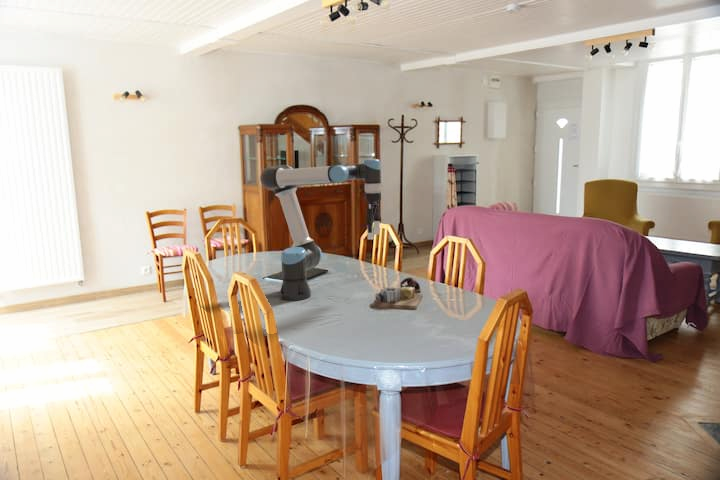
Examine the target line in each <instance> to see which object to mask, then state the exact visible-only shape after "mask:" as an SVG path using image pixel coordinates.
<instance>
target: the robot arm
mask: <svg viewBox="0 0 720 480" xmlns="http://www.w3.org/2000/svg"><path fill="white" fill-rule="evenodd" d="M381 170H382V169H381V161H380V159H378V158H367V159H364V161H363V163H342V164H337V165H325V166H312V167H301V168H298V167H297V168H293V167H292V166H290V165H287V164H279V165H271V166H270V165H269V166H267V167H266V168H264V169H263V170H262V171H261V173H260V175H259V176H260V177H259V179H260V180H259V181H260V183H261V185H262V187H263V188H265V190H268V191H273V194H274V196H276V197H277V198H278V199H279V202H280V205H281V207H282V208H281V209H282V212H283V214H284V217H285V220H286V224H287V226H288V230H289V234H290V236H291V239H292V242H293V243H292V245H291V247H288V248H285V249H283V251H282V252H281V258H280V260H281V261H280V262H281V271H282V274H281V275H282V282H281V287H280V290H279V298H280V299H281V298H282V299H281V300H284V299H285V301H300V300H306V299H309V298H310V297H311V296H312V290H311V288H310V285H309V283H308V278H307V271H309V270H312V269H315V268H316V267H317V266H318V265H320V263H321V261H322V258H323V253H322V249H321V248H320V246H318V245H317V244H316V243H315V240H314V239H313V238H311V237H310V234H309V231H308V228H307V225H306V221H305V218H304V215H303V213H302V209H301V206H300V203H299V200H298V196H297V194H296V192H297V190H298V187H297V186H298V185H312V184H314V185H315V184H325V183H344V182H348V181H353V180H364V192H365V193H364V200H365V202H369V203H368V204H367V205H366V206H367V207H366V208H367V211H366V221H365V226H366V227H367V228H366V231H367V233H366V234H367V240H374V236H375V235H377V236H379V235H380V234H381V232H380V230H381V227H380V222H382V218H381V212H380V206H379V205H380V203H379V202H380V201H381V200H382V193H381V191H382V190H381V188H382V187H383V185H381V177H382V176H381V174H382V173H381ZM308 297H309V298H308Z"/></svg>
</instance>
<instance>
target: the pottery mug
mask: <svg viewBox="0 0 720 480" xmlns="http://www.w3.org/2000/svg"><path fill="white" fill-rule="evenodd" d="M405 283H407V284H405ZM404 284H405V285H404ZM399 287H400V288H402V287H413V288H414V289H415V291H419V294H422V291H421V287H420V284H419V282H418V280H416V279H414V278H413V277H407V278H404V279H403V280H402V281H401V282H400V284H399Z"/></svg>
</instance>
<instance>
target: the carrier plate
mask: <svg viewBox="0 0 720 480" xmlns="http://www.w3.org/2000/svg"><path fill="white" fill-rule="evenodd" d="M398 288H399V290H401V301H398V302H397V303H394V302H392V303H387V302H382V300H381V291H380V292H376V293H375V300H374V301H373V302H372V305H371V306H372V308H382V309H383V308H385V309H404V310H405V309H407V310H409V309H410V310H417V309H418V307H419V305H420V302H422V299H423V295H424V294H423V293H420V292H419V293H418V292H416V290H415V288H414V287H402V288H401V287H398ZM389 291H392V290H389Z"/></svg>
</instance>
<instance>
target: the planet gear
mask: <svg viewBox="0 0 720 480" xmlns="http://www.w3.org/2000/svg"><path fill="white" fill-rule="evenodd" d="M399 288H400V287H393V286H391V287H383V288H380V292H381V300H382V302H387V303H392V302H394V303H397V302H398V301H401V290H399ZM389 290H392V291H389Z"/></svg>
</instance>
